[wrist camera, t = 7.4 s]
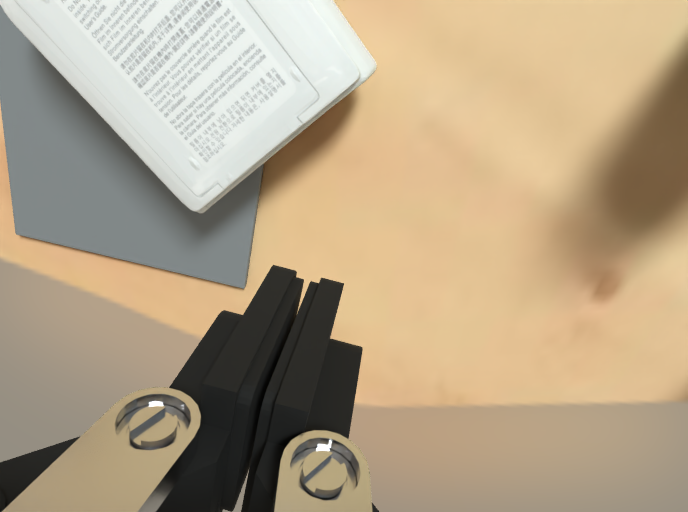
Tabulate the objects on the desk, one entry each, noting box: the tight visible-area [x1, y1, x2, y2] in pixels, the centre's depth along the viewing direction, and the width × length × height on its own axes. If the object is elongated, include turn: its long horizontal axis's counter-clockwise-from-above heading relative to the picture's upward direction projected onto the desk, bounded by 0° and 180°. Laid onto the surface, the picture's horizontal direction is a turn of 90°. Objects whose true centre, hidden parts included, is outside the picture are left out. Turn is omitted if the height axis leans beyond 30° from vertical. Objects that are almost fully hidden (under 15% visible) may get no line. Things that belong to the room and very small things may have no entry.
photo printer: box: [0, 0, 377, 213], centre depth 18 cm, size 10×4×12 cm
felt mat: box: [0, 5, 264, 289], centre depth 23 cm, size 13×16×1 cm
